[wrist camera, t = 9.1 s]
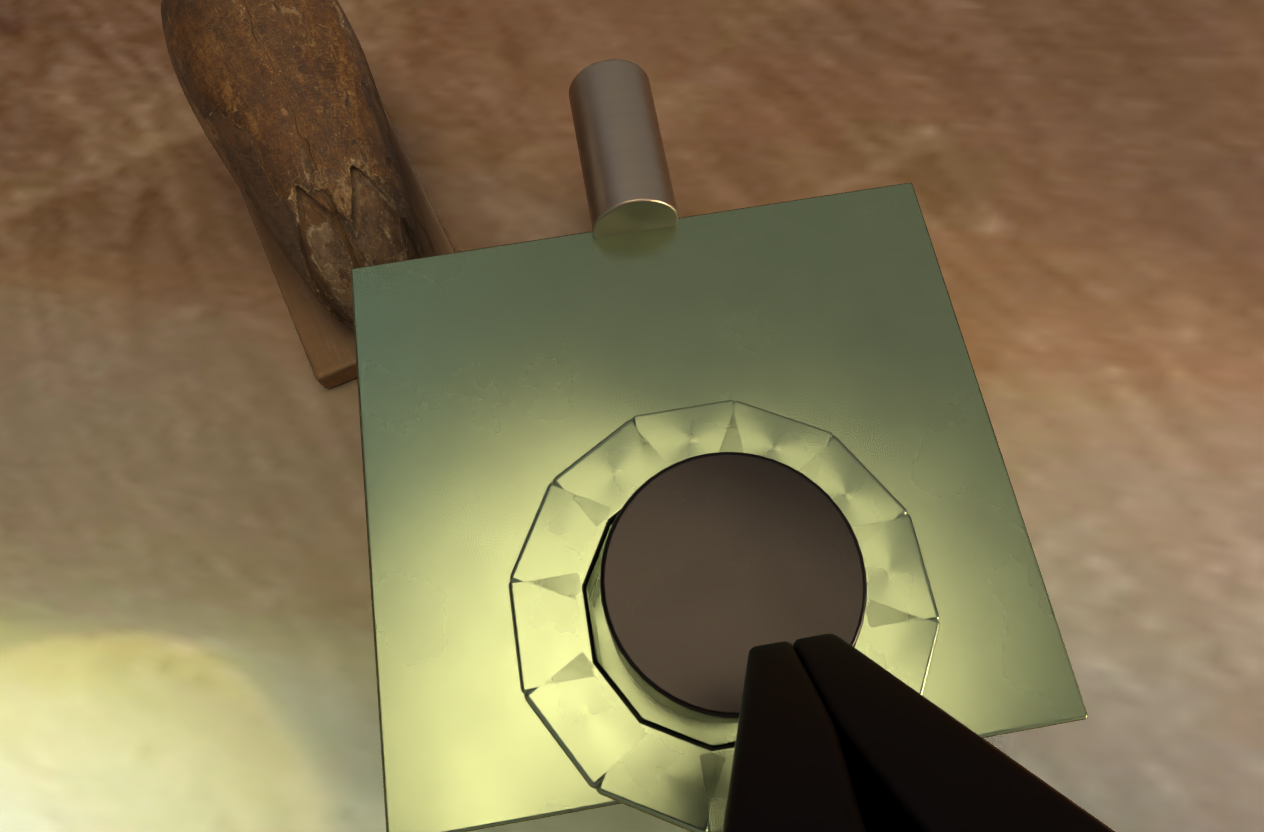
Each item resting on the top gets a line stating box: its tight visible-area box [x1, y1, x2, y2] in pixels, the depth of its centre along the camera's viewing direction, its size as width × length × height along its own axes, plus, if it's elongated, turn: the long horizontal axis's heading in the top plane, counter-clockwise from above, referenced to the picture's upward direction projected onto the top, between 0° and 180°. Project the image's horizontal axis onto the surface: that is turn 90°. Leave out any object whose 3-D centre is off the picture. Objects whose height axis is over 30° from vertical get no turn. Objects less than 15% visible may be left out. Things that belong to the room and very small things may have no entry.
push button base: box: [351, 183, 1087, 832], centre depth 18 cm, size 12×12×7 cm
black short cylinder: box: [600, 452, 867, 724], centre depth 13 cm, size 4×4×2 cm
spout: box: [569, 60, 678, 238], centre depth 19 cm, size 4×2×2 cm, turn 10°
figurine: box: [161, 0, 454, 388], centre depth 21 cm, size 14×4×9 cm, turn 26°
